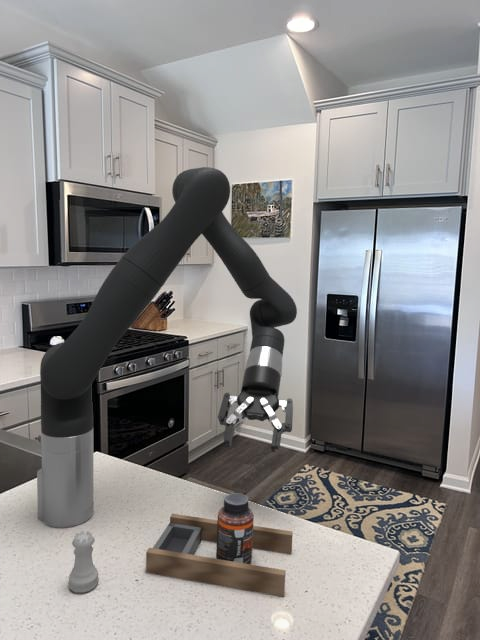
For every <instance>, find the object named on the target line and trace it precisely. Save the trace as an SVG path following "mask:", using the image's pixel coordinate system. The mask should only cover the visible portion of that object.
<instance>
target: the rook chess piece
mask: <svg viewBox="0 0 480 640" xmlns="http://www.w3.org/2000/svg"><path fill="white" fill-rule="evenodd" d="M94 542H95V537H94V536H93V532H91V531H90V530H87V531H86V533H85V530H80V533H79V532H77V533H76V534H75V536H74V538H73V540H72V542H71V545H72V546H73V548H74V550H73V555H74V564H73V567H72V569H71V571H70V573H69V576H68V582H67V584H68V585H67V586H68V588H69V589H70V591H72V592H73V593H75V594H85V593H88V592H90V591H92V590H93V589H94V588H96V586H98V583H99V582H100V581H99V580H100V578H99V570H98V569H97V568H96V566H95V564H94V561H93V551H94V547H93V545H94Z"/></svg>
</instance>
